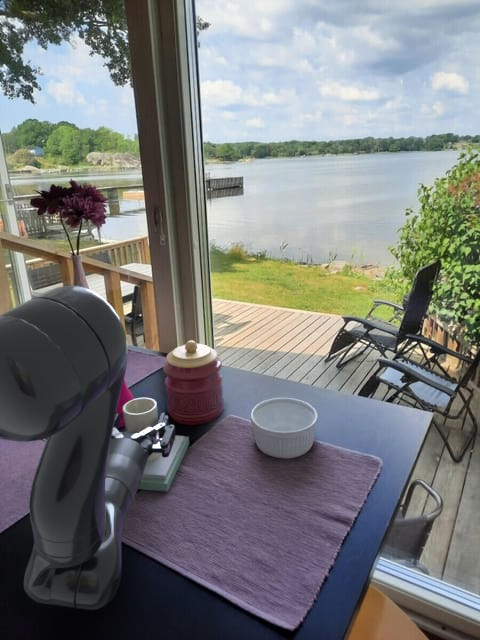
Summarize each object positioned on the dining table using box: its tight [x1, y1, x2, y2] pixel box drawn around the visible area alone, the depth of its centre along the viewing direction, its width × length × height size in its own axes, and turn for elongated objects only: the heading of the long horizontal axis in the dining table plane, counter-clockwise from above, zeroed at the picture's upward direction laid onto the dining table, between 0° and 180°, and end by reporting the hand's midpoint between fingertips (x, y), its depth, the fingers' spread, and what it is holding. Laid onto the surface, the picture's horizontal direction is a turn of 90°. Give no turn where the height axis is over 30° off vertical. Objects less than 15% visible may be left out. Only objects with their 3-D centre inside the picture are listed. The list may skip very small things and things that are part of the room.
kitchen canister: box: [162, 340, 225, 426], centre depth 99 cm, size 13×13×18 cm
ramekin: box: [250, 397, 319, 459], centre depth 88 cm, size 13×13×7 cm
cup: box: [123, 397, 161, 462], centre depth 81 cm, size 6×6×10 cm
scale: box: [119, 431, 190, 492], centre depth 84 cm, size 16×14×3 cm
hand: (141, 417), depth 81 cm, fingers open, 8 cm apart
